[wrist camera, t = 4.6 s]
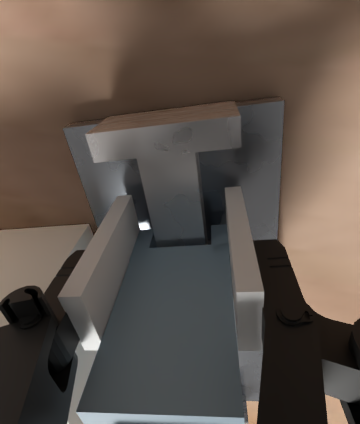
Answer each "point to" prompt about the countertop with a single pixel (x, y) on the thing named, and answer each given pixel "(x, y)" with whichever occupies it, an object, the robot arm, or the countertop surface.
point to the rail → (217, 178)
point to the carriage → (169, 340)
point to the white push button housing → (44, 277)
